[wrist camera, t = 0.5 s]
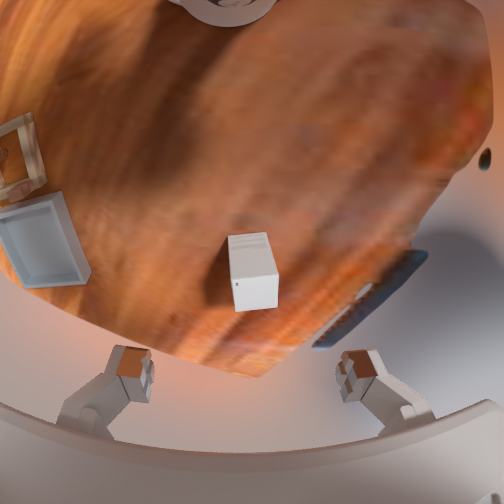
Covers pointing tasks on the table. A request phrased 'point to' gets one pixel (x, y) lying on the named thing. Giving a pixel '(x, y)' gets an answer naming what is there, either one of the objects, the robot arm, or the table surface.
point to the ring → (31, 159)
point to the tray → (43, 243)
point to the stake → (3, 153)
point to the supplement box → (252, 272)
